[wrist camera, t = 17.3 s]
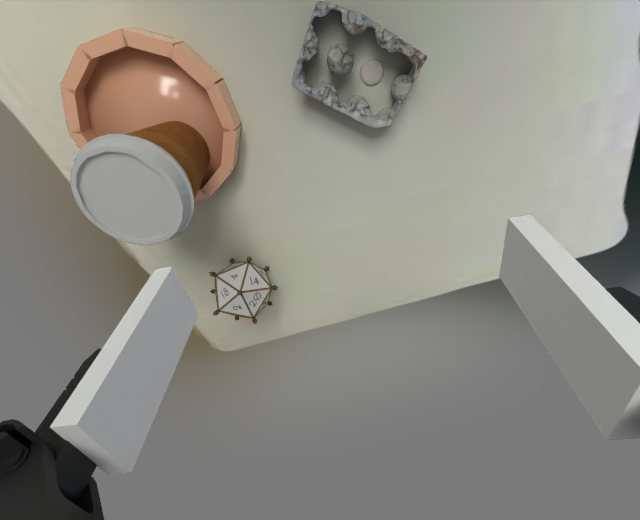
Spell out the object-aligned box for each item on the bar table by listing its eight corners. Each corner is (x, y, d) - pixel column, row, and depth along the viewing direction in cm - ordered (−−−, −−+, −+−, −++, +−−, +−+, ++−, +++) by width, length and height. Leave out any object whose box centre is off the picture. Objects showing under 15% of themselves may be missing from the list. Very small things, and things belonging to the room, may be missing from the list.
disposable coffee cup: (239, 178, 39) (210, 233, 29) (167, 201, 41) (116, 260, 31) (196, 89, 33) (143, 120, 24) (115, 121, 35) (35, 162, 26)
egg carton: (423, 52, 32) (435, 56, 29) (382, 126, 36) (388, 138, 33) (321, -9, 30) (321, -12, 26) (289, 79, 34) (285, 86, 30)
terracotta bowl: (122, -16, 29) (107, -19, 27) (270, 122, 36) (267, 129, 34) (54, 126, 36) (38, 133, 34) (188, 221, 43) (181, 231, 41)
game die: (249, 244, 49) (245, 239, 39) (288, 288, 50) (293, 294, 40) (200, 285, 48) (183, 291, 38) (241, 330, 49) (234, 346, 39)
